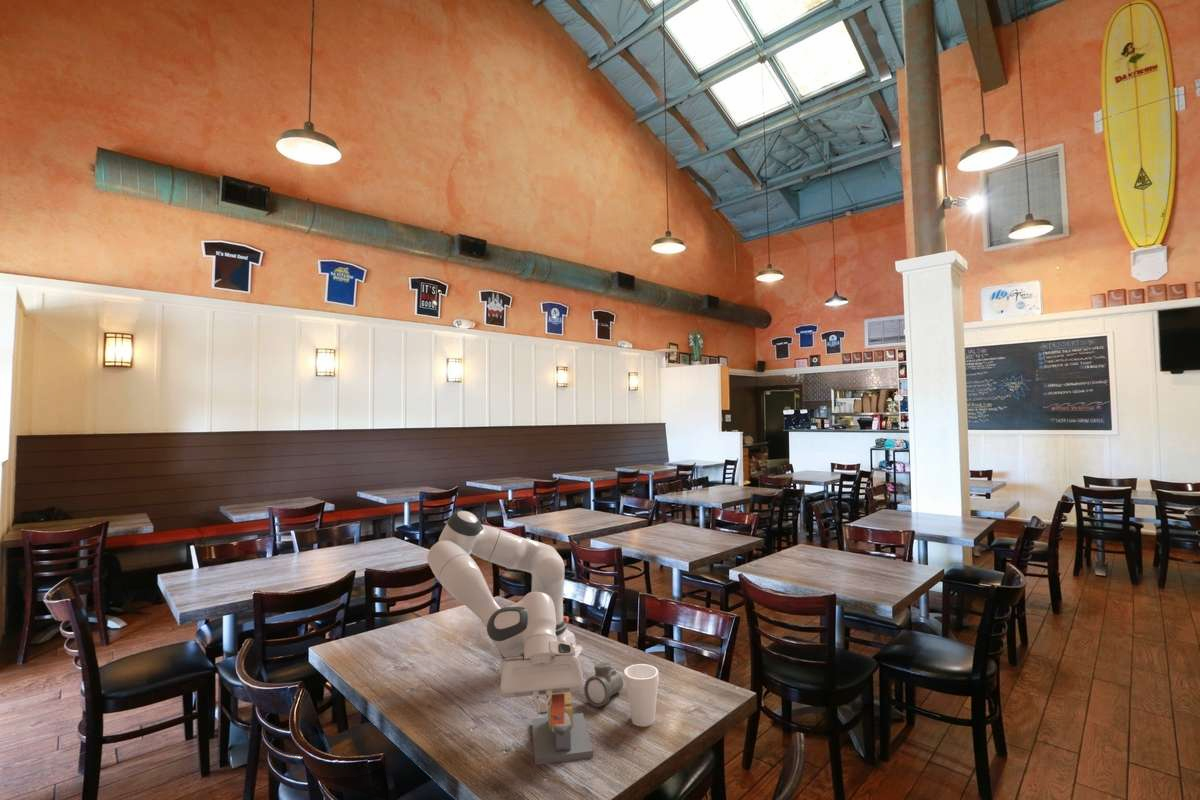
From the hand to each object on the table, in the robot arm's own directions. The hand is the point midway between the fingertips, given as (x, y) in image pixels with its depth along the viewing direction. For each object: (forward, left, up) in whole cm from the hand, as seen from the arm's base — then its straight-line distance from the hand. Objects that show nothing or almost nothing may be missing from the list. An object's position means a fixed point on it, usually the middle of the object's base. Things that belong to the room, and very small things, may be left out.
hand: (543, 713), depth 128 cm
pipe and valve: (-12, -2, -11) cm, 17 cm away
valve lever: (-6, +1, -1) cm, 6 cm away
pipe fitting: (-36, +1, -13) cm, 38 cm away
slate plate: (-12, -2, -13) cm, 18 cm away
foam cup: (-28, +15, -13) cm, 35 cm away
